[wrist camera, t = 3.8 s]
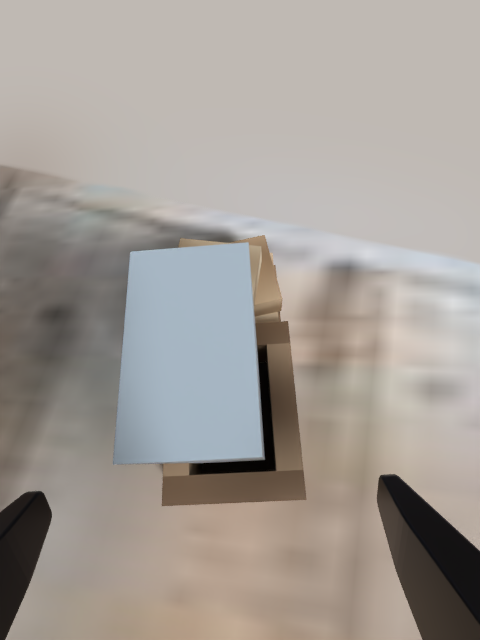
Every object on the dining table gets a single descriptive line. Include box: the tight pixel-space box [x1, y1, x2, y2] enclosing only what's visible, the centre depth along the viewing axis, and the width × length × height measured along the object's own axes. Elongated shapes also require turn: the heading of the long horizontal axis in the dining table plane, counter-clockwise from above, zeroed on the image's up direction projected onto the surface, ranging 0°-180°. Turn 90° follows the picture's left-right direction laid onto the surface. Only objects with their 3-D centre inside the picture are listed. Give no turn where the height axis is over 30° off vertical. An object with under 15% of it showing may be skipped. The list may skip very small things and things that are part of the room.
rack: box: [162, 265, 306, 506], centre depth 20 cm, size 13×6×4 cm, turn 3°
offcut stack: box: [178, 235, 282, 323], centre depth 20 cm, size 5×6×5 cm
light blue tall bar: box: [113, 242, 265, 464], centre depth 14 cm, size 5×3×14 cm, turn 3°
